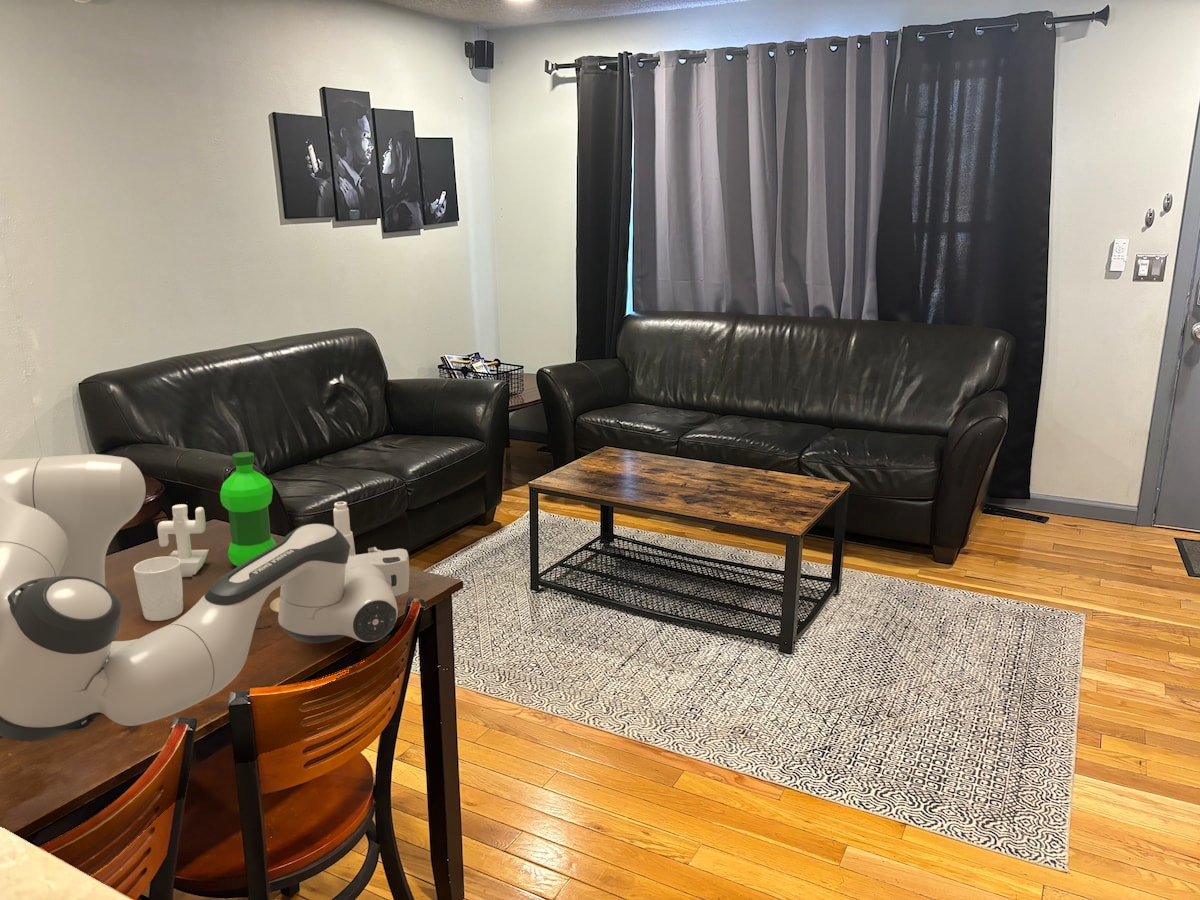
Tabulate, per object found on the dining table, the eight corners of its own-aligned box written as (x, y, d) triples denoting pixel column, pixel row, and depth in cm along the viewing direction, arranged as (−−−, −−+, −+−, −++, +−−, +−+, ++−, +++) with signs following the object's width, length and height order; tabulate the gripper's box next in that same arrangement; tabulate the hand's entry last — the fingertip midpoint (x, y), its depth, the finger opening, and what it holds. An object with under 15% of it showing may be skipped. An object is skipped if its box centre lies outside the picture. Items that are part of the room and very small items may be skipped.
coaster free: (272, 619, 161) (271, 616, 161) (268, 599, 169) (268, 597, 169) (322, 610, 165) (321, 607, 165) (316, 592, 173) (315, 589, 172)
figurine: (170, 566, 184) (161, 500, 180) (216, 565, 185) (208, 499, 181) (157, 580, 177) (148, 511, 173) (205, 578, 178) (197, 510, 174)
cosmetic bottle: (339, 604, 168) (331, 497, 162) (369, 605, 167) (362, 498, 161) (326, 618, 162) (317, 507, 156) (357, 620, 161) (350, 509, 155)
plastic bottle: (289, 560, 188) (279, 450, 181) (257, 579, 178) (245, 463, 172) (251, 554, 191) (240, 446, 184) (217, 572, 181) (204, 458, 175)
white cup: (168, 625, 158) (161, 574, 156) (130, 620, 160) (123, 570, 157) (195, 606, 166) (189, 558, 163) (159, 602, 167) (153, 554, 165)
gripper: (296, 610, 145) (288, 579, 157) (417, 590, 153) (401, 562, 166) (293, 575, 144) (286, 547, 156) (415, 557, 152) (399, 531, 164)
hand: (346, 554), depth 161 cm, fingers open, 8 cm apart
